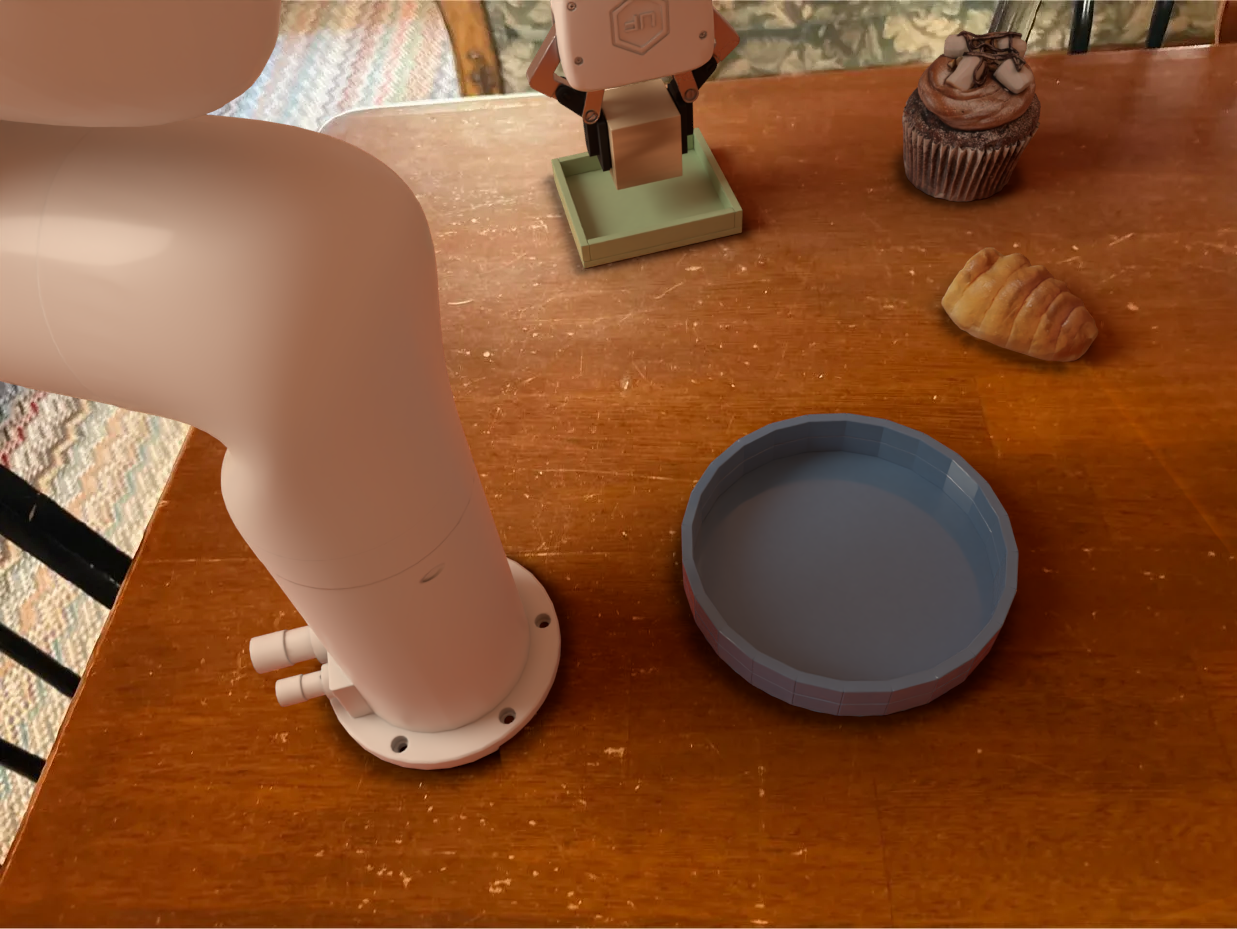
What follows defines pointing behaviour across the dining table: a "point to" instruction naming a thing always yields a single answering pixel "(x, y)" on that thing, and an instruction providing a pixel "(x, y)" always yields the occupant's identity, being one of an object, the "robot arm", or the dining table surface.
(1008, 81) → the cupcake
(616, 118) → the block
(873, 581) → the bowl
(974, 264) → the pastry
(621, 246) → the tray
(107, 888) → the dining table surface
